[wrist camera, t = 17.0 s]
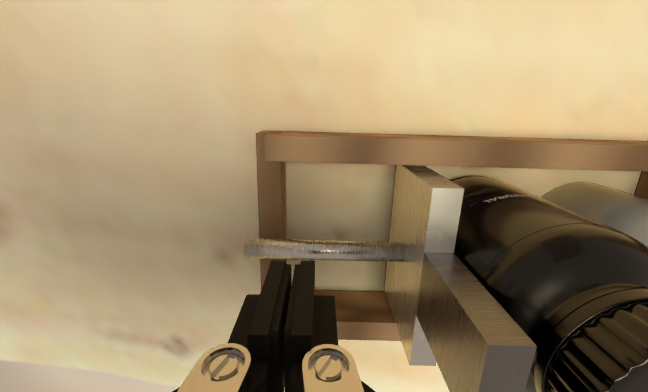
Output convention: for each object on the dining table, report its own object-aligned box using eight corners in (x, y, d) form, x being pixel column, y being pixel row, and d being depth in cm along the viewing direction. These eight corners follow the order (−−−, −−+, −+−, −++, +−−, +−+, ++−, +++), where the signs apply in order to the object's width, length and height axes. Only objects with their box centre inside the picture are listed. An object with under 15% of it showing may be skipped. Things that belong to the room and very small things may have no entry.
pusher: (261, 286, 20) (186, 495, 9) (256, 157, 17) (148, 235, 7) (402, 290, 20) (494, 502, 9) (417, 161, 17) (564, 246, 7)
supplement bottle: (490, 150, 17) (829, 235, 6) (537, 240, 19) (878, 448, 7) (387, 214, 18) (500, 396, 7) (440, 295, 20) (605, 553, 8)
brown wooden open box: (268, 304, 20) (246, 383, 14) (263, 130, 17) (232, 141, 11) (613, 313, 20) (728, 394, 15) (673, 142, 17) (850, 159, 11)
